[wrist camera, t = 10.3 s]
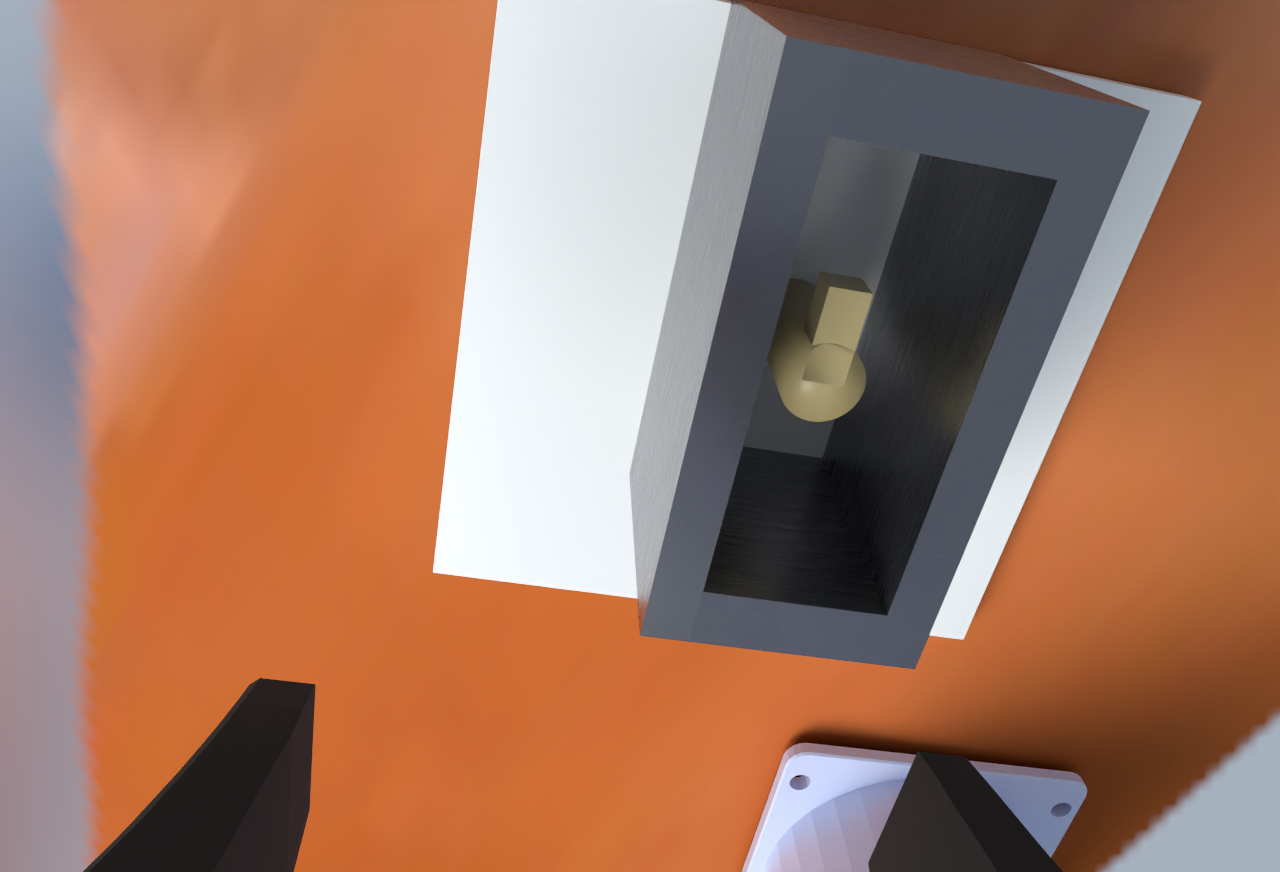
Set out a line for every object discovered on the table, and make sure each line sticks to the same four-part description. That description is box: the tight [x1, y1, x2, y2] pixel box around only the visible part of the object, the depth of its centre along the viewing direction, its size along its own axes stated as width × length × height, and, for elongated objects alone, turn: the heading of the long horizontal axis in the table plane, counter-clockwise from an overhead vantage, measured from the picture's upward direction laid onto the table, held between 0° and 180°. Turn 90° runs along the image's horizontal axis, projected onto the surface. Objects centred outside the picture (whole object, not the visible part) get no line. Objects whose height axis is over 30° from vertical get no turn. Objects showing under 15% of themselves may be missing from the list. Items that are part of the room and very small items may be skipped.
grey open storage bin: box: [629, 0, 1150, 669], centre depth 16 cm, size 9×5×5 cm, turn 169°
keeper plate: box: [433, 0, 1202, 640], centre depth 18 cm, size 12×12×4 cm
